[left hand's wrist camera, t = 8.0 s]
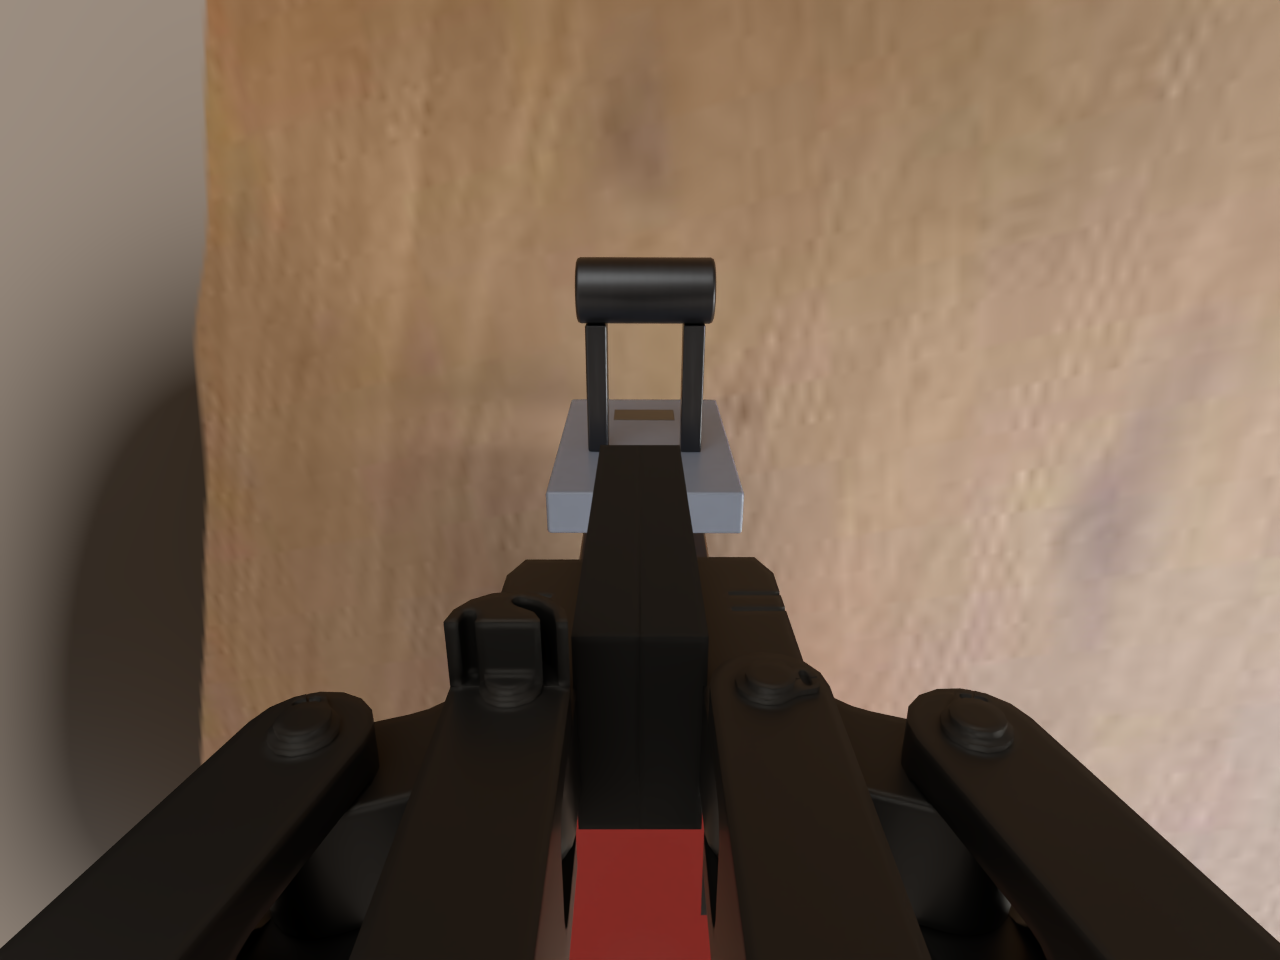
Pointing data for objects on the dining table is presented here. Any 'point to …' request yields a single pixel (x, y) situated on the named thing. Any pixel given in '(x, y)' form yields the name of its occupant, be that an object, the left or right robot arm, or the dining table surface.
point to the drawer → (690, 422)
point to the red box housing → (639, 895)
